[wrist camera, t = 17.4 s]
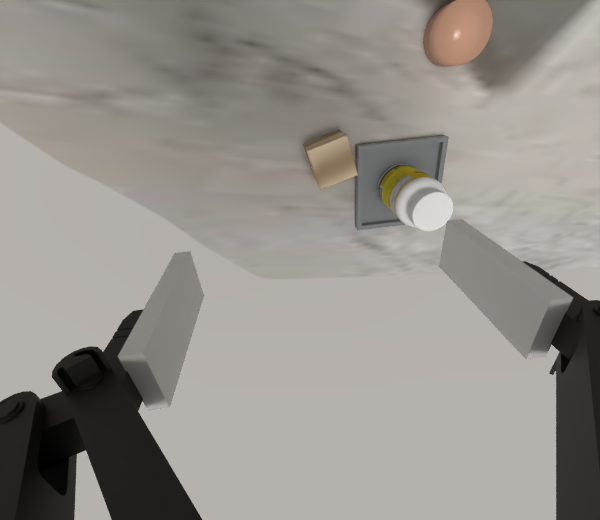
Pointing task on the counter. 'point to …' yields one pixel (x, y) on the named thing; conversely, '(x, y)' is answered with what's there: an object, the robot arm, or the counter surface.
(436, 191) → the pill bottle
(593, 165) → the counter surface
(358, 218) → the slate tray
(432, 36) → the brown egg
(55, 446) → the robot arm
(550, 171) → the counter surface
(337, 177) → the cork block
